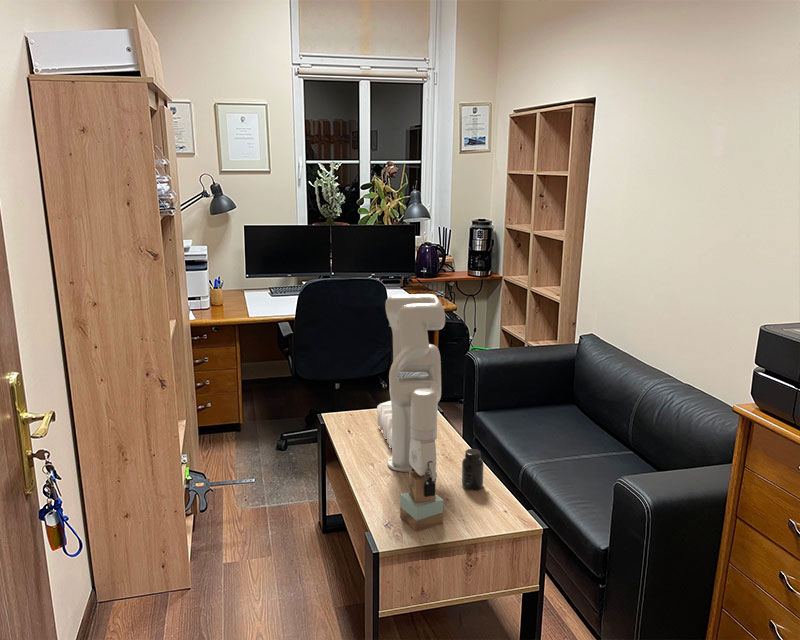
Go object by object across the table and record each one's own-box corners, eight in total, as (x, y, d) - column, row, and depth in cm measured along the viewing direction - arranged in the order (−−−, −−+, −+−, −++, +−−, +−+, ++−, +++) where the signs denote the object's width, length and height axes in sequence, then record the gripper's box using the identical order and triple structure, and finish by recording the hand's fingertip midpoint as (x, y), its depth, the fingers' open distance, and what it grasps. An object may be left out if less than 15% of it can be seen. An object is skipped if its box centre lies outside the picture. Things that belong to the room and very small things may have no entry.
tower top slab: (400, 506, 190) (400, 494, 189) (426, 499, 195) (426, 486, 194) (416, 520, 183) (416, 507, 182) (443, 512, 187) (443, 499, 186)
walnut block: (408, 493, 190) (409, 471, 188) (428, 490, 191) (428, 468, 190) (415, 503, 184) (415, 480, 182) (435, 500, 186) (435, 477, 184)
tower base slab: (400, 518, 191) (400, 506, 190) (426, 510, 196) (426, 498, 195) (416, 532, 184) (416, 520, 183) (442, 524, 188) (443, 511, 187)
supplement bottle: (469, 479, 215) (470, 445, 213) (486, 485, 211) (488, 450, 209) (457, 486, 210) (458, 452, 208) (475, 493, 206) (476, 457, 203)
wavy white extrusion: (374, 420, 266) (374, 396, 264) (414, 418, 270) (414, 393, 267) (389, 456, 233) (389, 428, 231) (434, 452, 236) (434, 425, 234)
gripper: (401, 423, 190) (400, 477, 194) (422, 445, 174) (421, 504, 178) (425, 420, 193) (424, 473, 196) (448, 442, 177) (447, 499, 180)
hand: (423, 488), depth 187 cm, fingers open, 9 cm apart
